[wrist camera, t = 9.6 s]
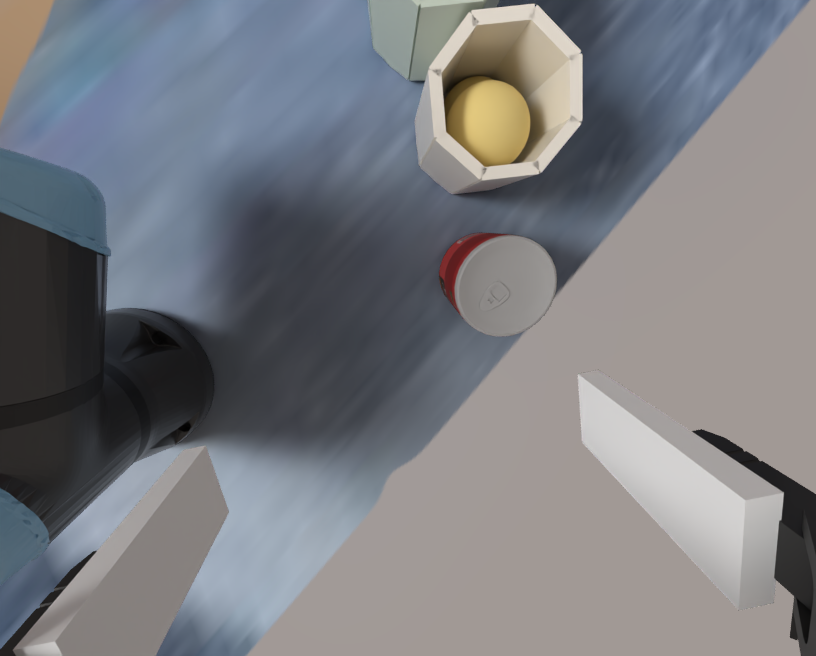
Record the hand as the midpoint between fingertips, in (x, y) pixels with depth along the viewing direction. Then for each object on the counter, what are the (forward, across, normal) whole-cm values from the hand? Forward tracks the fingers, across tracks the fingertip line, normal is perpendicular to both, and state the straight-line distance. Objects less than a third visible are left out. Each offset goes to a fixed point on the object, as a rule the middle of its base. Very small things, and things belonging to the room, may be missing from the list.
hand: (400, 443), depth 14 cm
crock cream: (+28, +10, +14) cm, 33 cm away
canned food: (+28, +10, +1) cm, 30 cm away
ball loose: (+19, +10, +13) cm, 25 cm away
